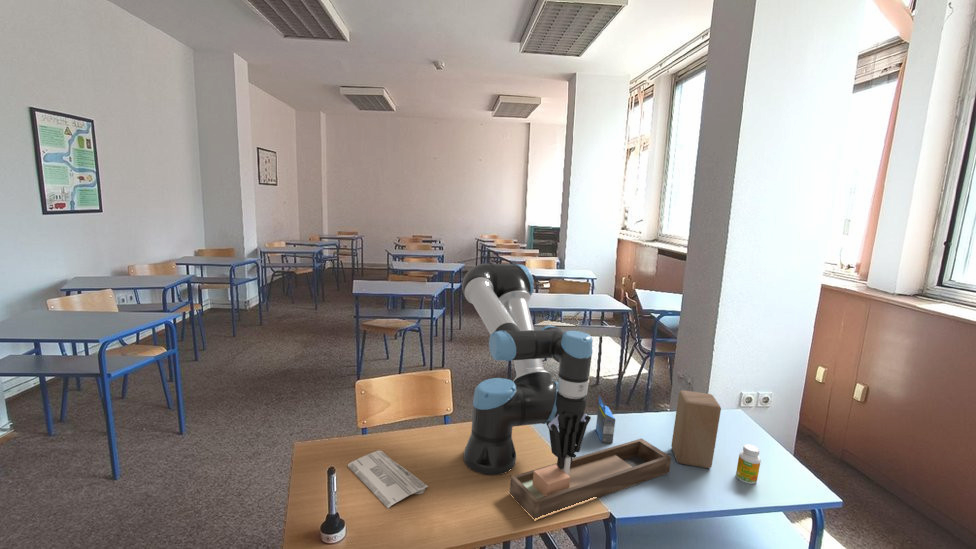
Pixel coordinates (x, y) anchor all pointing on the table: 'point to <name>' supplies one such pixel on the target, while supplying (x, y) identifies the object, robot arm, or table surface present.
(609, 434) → the blue retail box
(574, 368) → the robot arm
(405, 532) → the table surface
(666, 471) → the channel
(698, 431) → the block
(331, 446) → the table surface
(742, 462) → the supplement bottle
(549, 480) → the clay block
